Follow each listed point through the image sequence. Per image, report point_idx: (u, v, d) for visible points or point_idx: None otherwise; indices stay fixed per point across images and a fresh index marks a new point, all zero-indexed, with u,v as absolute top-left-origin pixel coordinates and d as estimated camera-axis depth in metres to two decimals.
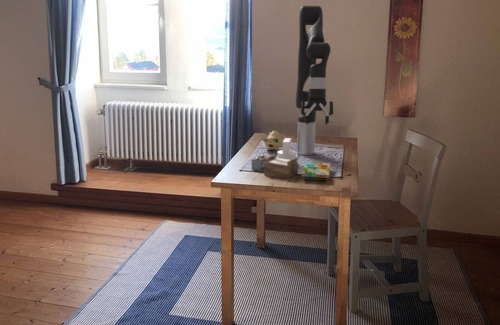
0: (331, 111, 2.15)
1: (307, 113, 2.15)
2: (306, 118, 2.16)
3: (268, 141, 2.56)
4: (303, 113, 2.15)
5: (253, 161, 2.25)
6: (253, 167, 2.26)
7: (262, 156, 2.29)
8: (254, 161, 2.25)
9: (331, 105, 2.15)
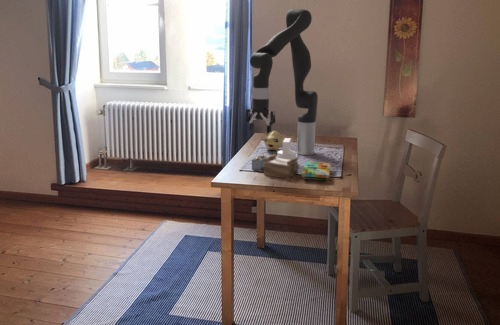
0: (271, 121, 2.19)
1: (250, 121, 2.24)
2: (250, 125, 2.25)
3: (268, 141, 2.56)
4: (247, 120, 2.25)
5: (253, 161, 2.25)
6: (253, 167, 2.26)
7: (262, 156, 2.29)
8: (254, 161, 2.25)
9: (271, 115, 2.18)
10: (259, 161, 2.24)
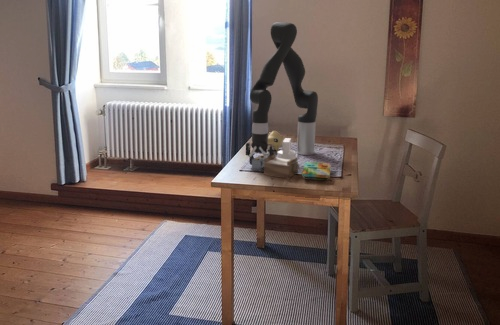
0: (270, 155, 2.23)
1: (250, 154, 2.28)
2: (250, 159, 2.29)
3: (268, 141, 2.56)
4: (247, 154, 2.29)
5: (253, 161, 2.25)
6: (253, 167, 2.26)
7: (262, 156, 2.29)
8: (254, 161, 2.25)
9: (270, 150, 2.22)
10: (259, 161, 2.24)
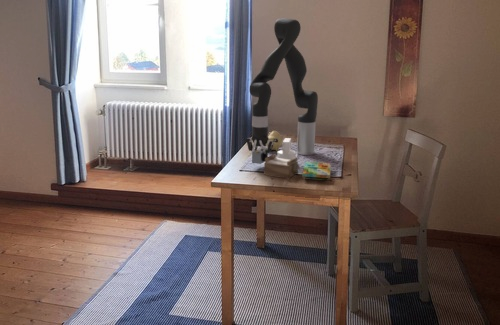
0: (268, 150, 2.23)
1: (253, 150, 2.27)
2: None
3: None
4: (250, 149, 2.28)
5: (253, 154, 2.24)
6: (253, 160, 2.25)
7: None
8: (254, 154, 2.24)
9: (269, 145, 2.22)
10: (259, 154, 2.23)
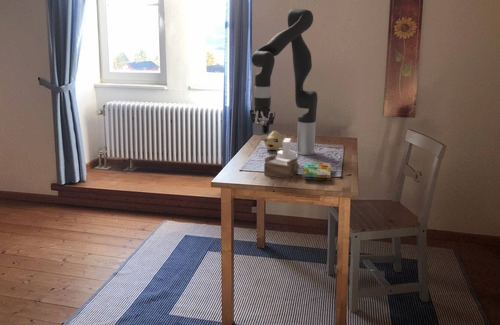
0: (268, 122, 2.18)
1: (255, 121, 2.23)
2: None
3: (268, 141, 2.56)
4: (253, 121, 2.24)
5: (254, 125, 2.20)
6: (254, 132, 2.21)
7: None
8: (255, 125, 2.20)
9: (270, 116, 2.17)
10: (259, 125, 2.18)
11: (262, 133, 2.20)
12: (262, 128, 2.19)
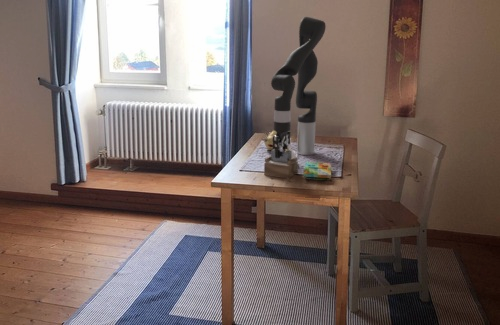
0: None
1: (283, 143, 2.20)
2: None
3: (268, 141, 2.56)
4: None
5: None
6: None
7: (285, 150, 2.15)
8: None
9: None
10: None
11: (274, 159, 2.17)
12: (273, 154, 2.16)
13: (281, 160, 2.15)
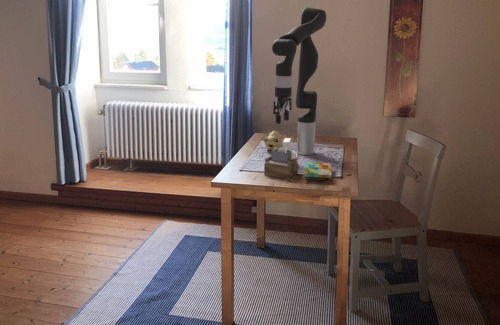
0: None
1: (284, 109, 2.19)
2: None
3: (268, 141, 2.56)
4: None
5: None
6: None
7: (285, 150, 2.15)
8: None
9: None
10: None
11: (274, 159, 2.17)
12: (273, 154, 2.16)
13: (281, 160, 2.15)
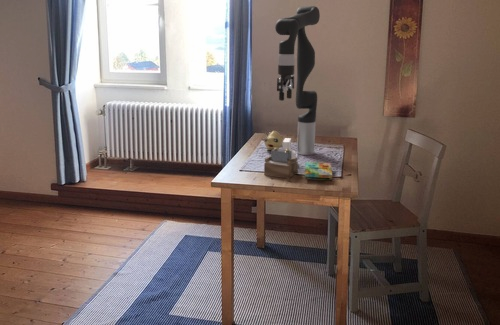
0: None
1: (287, 87, 2.28)
2: None
3: (268, 141, 2.56)
4: None
5: None
6: None
7: (285, 150, 2.15)
8: None
9: None
10: None
11: (274, 159, 2.17)
12: (273, 154, 2.16)
13: (281, 160, 2.15)
